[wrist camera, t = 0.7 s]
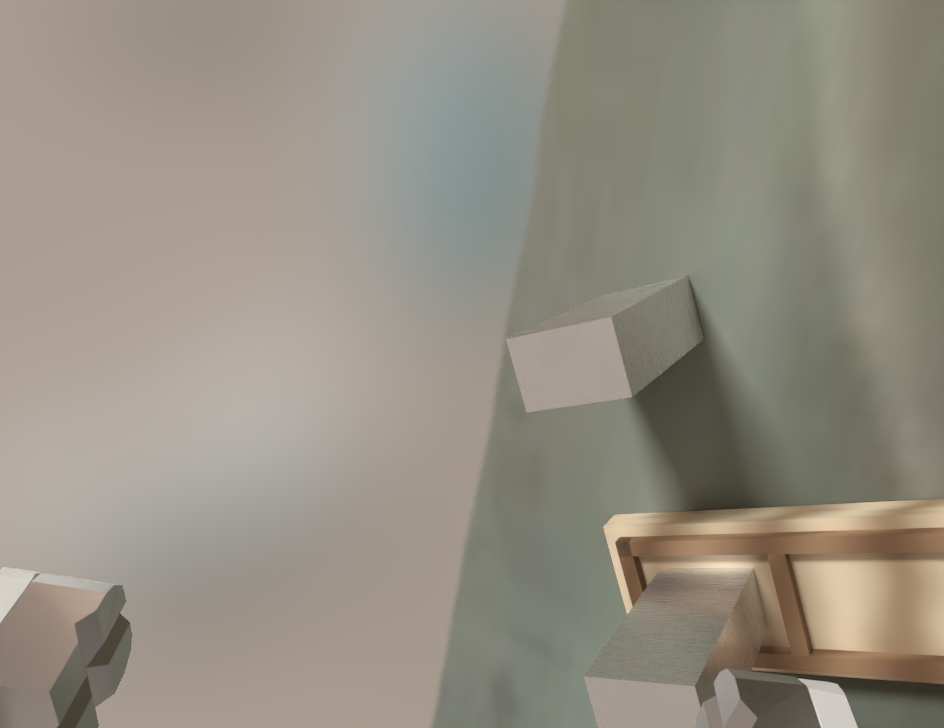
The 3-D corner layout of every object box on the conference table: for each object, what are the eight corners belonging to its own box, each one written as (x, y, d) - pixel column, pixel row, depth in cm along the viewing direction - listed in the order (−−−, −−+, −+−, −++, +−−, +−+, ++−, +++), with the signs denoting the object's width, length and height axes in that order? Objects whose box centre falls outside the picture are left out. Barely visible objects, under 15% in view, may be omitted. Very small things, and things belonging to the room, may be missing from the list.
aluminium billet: (687, 275, 46) (610, 317, 36) (703, 339, 46) (632, 397, 37) (598, 296, 49) (506, 339, 40) (613, 355, 50) (526, 412, 40)
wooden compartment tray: (995, 496, 40) (996, 518, 38) (1030, 668, 41) (1033, 700, 39) (614, 514, 53) (598, 532, 51) (650, 646, 54) (636, 669, 52)
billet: (753, 567, 46) (694, 686, 37) (768, 628, 47) (714, 760, 37) (659, 568, 50) (583, 676, 40) (674, 624, 50) (603, 744, 41)
